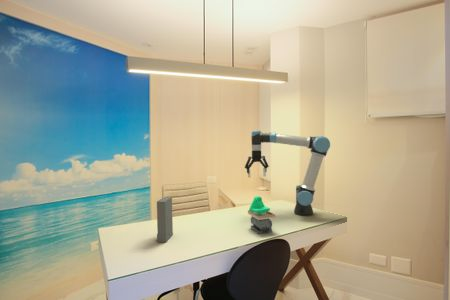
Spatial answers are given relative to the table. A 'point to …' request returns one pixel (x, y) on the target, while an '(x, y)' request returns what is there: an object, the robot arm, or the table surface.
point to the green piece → (258, 206)
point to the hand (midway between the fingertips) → (256, 176)
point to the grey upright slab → (164, 219)
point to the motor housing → (261, 221)
